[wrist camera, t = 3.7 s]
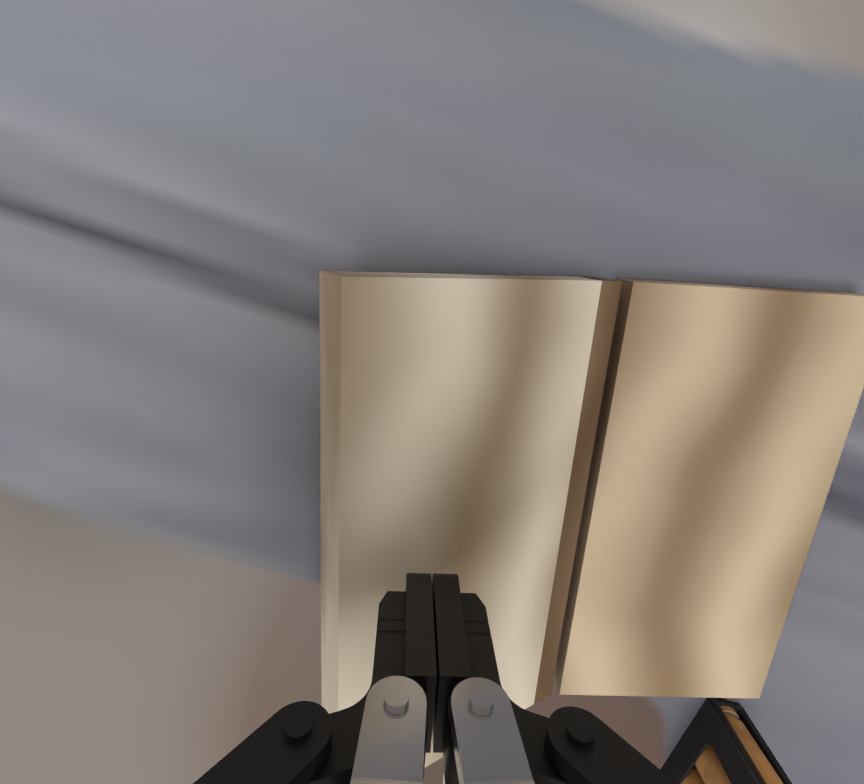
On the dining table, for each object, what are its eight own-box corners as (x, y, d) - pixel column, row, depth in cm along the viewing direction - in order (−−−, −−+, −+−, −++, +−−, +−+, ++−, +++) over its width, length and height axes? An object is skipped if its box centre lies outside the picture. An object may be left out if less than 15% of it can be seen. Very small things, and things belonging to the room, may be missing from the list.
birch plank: (587, 276, 18) (622, 281, 17) (527, 669, 23) (550, 694, 22) (319, 270, 13) (341, 276, 11) (321, 778, 18) (337, 818, 17)
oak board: (857, 293, 19) (893, 298, 17) (738, 671, 24) (759, 698, 22) (616, 278, 18) (633, 281, 17) (550, 666, 23) (559, 694, 22)
